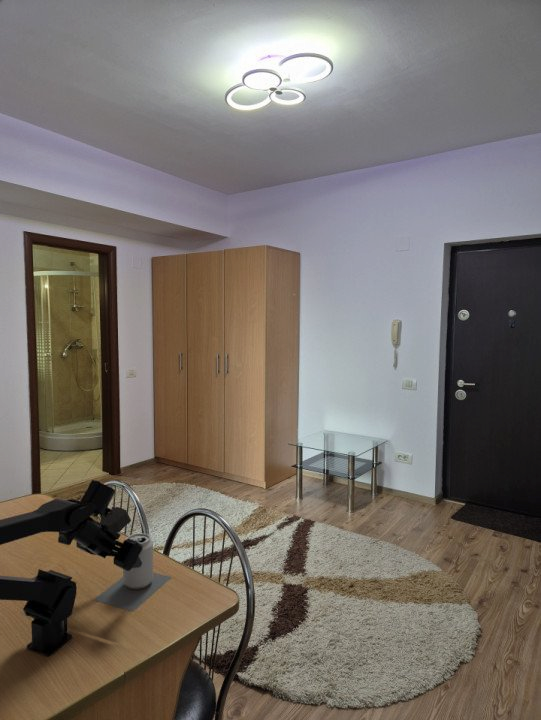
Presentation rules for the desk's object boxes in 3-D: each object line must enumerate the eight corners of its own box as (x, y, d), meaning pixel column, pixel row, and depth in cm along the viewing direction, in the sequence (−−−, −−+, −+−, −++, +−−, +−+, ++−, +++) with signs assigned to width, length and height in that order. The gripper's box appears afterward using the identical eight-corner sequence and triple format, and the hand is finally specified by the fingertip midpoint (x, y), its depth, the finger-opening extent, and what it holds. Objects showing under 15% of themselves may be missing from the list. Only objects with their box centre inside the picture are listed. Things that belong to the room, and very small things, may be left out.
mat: (133, 613, 111) (133, 611, 111) (93, 602, 115) (93, 599, 115) (172, 579, 126) (172, 577, 125) (135, 569, 130) (135, 567, 130)
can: (150, 590, 119) (150, 544, 118) (120, 591, 118) (119, 544, 117) (155, 574, 126) (155, 530, 125) (126, 575, 125) (126, 531, 124)
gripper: (135, 510, 108) (171, 539, 118) (86, 493, 118) (122, 521, 128) (107, 557, 102) (147, 583, 112) (57, 535, 112) (98, 560, 122)
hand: (128, 559), depth 119 cm, fingers open, 9 cm apart
